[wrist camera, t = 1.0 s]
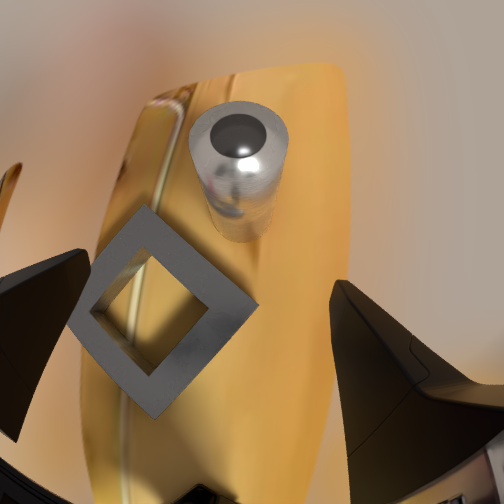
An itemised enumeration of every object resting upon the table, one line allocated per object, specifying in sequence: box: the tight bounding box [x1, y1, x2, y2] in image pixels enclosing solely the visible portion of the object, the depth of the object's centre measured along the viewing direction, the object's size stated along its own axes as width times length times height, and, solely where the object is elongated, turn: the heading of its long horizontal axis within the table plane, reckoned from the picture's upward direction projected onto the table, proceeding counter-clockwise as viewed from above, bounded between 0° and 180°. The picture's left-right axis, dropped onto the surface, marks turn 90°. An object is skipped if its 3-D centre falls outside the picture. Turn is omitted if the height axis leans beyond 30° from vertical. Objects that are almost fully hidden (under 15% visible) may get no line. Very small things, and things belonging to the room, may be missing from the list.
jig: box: [67, 204, 259, 420], centre depth 21 cm, size 12×12×2 cm
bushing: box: [188, 101, 289, 243], centre depth 18 cm, size 5×5×11 cm
